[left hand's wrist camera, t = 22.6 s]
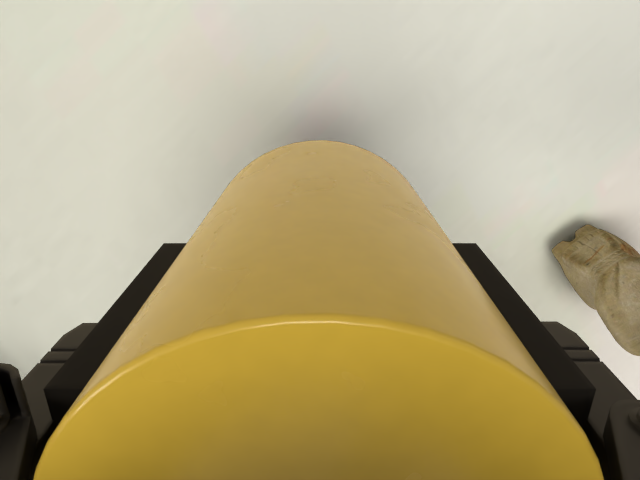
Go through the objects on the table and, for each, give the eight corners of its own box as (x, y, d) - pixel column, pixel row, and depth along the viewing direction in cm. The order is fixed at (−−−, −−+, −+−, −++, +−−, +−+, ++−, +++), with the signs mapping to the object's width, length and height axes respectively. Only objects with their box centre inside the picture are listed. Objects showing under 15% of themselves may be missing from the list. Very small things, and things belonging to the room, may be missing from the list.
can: (349, 373, 19) (385, 761, 8) (172, 279, 17) (-49, 617, 7) (474, 218, 16) (744, 501, 6) (281, 92, 15) (189, 177, 4)
